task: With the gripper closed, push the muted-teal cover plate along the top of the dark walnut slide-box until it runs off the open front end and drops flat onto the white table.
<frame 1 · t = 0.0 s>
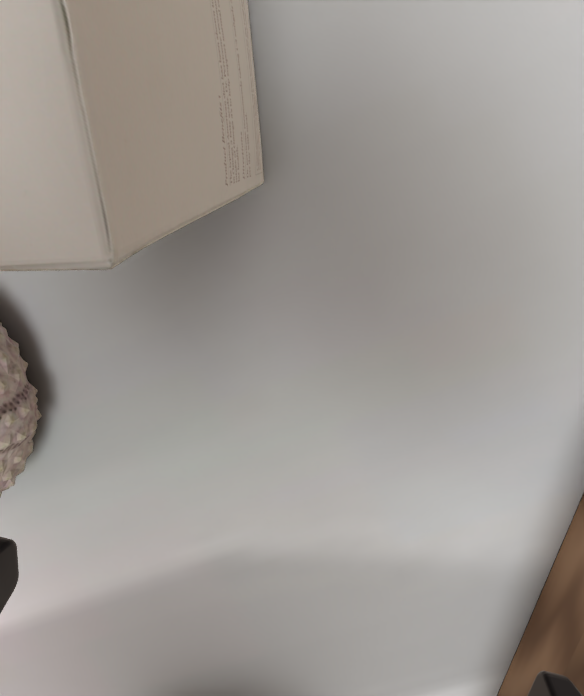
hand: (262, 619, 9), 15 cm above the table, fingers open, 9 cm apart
supplement box: (164, 94, 21), on the table
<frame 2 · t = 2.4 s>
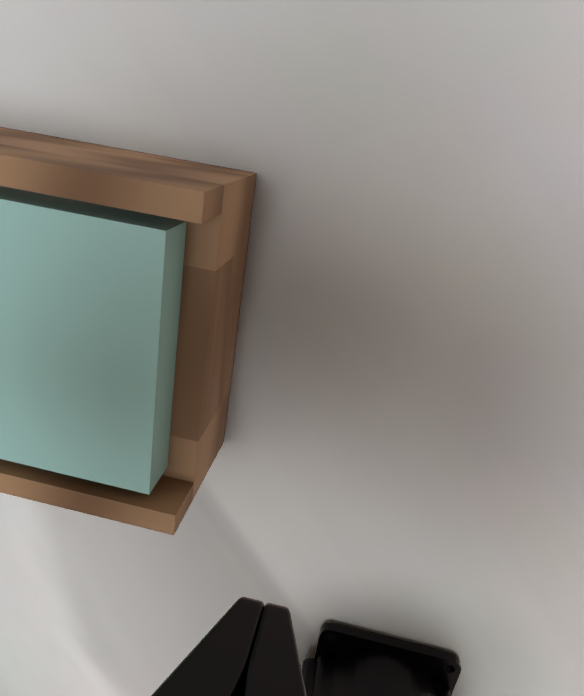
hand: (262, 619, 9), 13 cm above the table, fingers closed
slide box: (20, 276, 22), on the table
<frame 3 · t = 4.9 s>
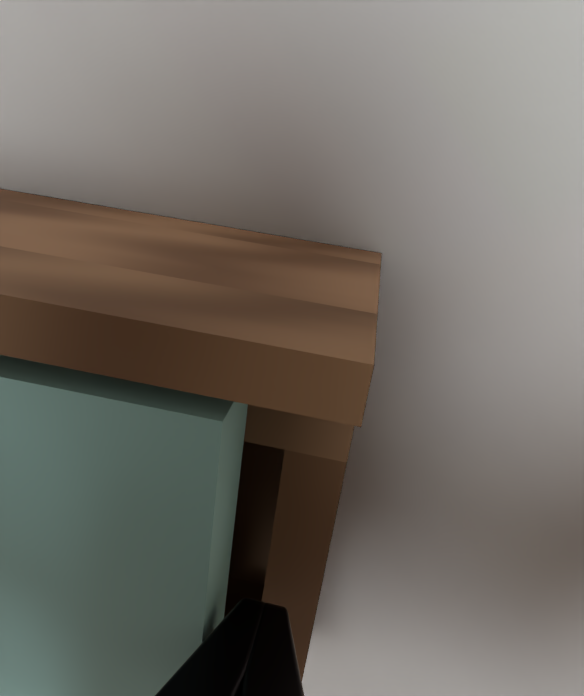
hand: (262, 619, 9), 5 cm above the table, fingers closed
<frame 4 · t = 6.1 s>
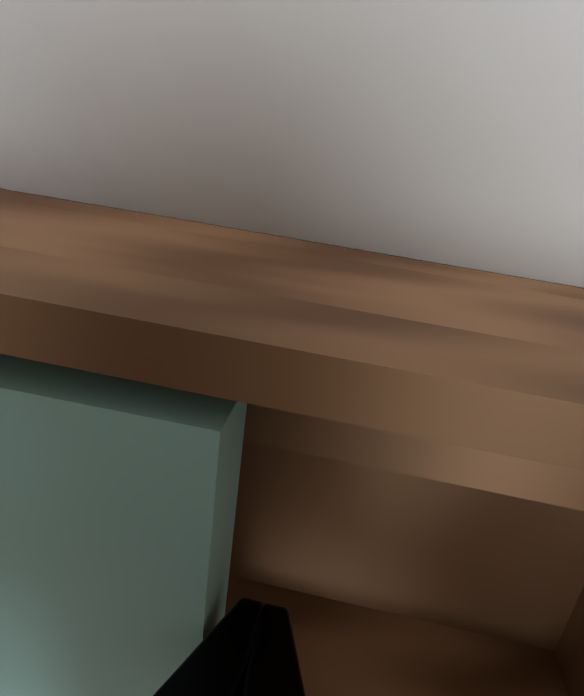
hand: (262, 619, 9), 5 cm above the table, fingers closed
slide box: (252, 455, 14), on the table
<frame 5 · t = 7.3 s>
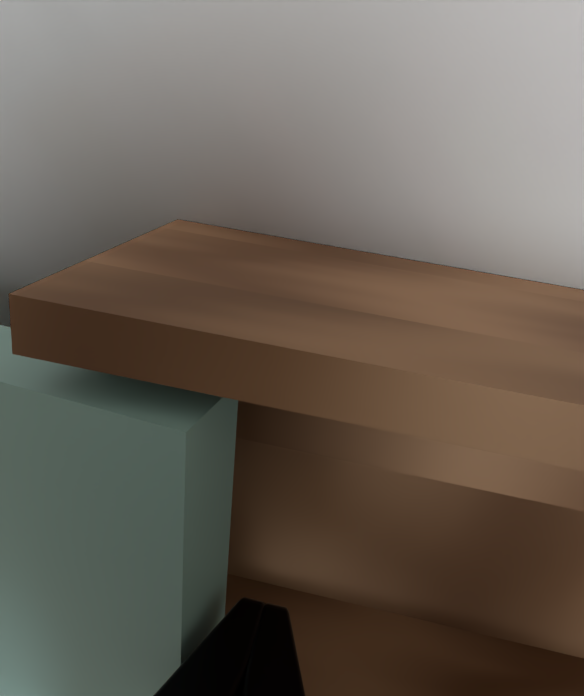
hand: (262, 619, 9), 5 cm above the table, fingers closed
slide box: (525, 513, 13), on the table
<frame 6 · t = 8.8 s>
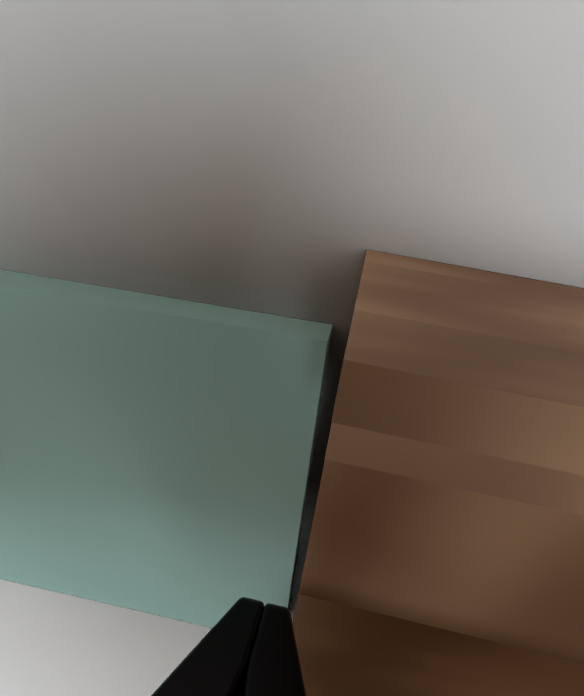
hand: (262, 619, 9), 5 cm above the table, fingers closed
cover plate: (23, 416, 15), on the table
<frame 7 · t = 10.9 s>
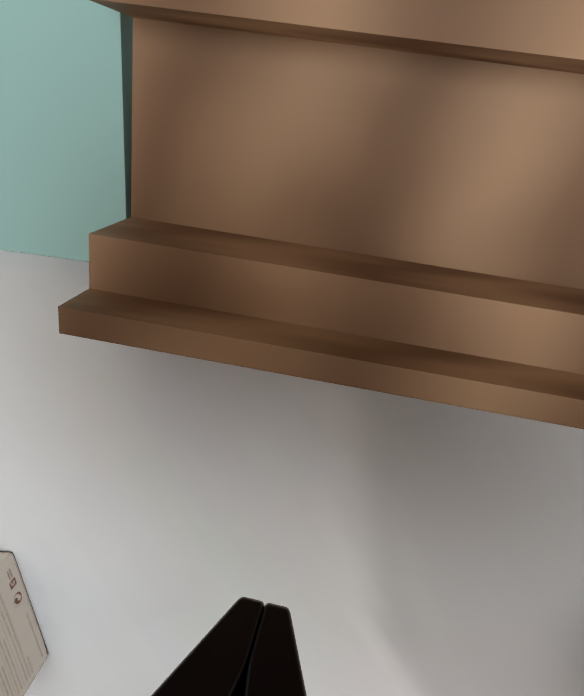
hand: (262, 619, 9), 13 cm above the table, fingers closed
slide box: (409, 161, 18), on the table
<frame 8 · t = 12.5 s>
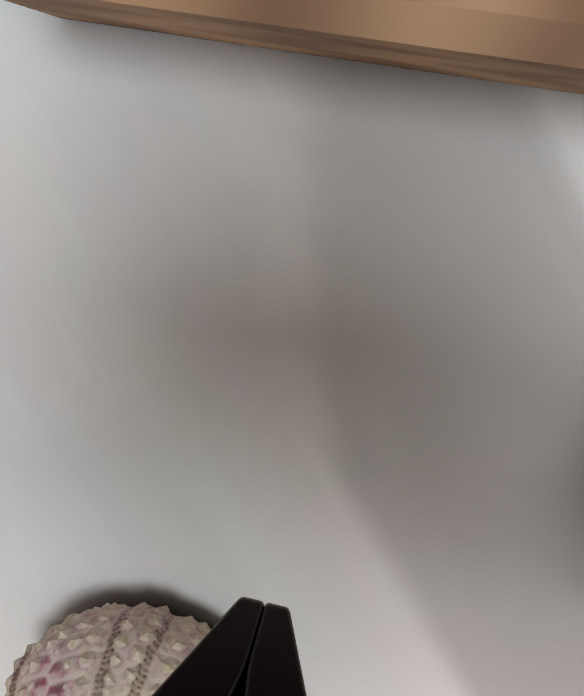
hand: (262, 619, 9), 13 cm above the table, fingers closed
sea urchin shell: (162, 669, 30), on the table
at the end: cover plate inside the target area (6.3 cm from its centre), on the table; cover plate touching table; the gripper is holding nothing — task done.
